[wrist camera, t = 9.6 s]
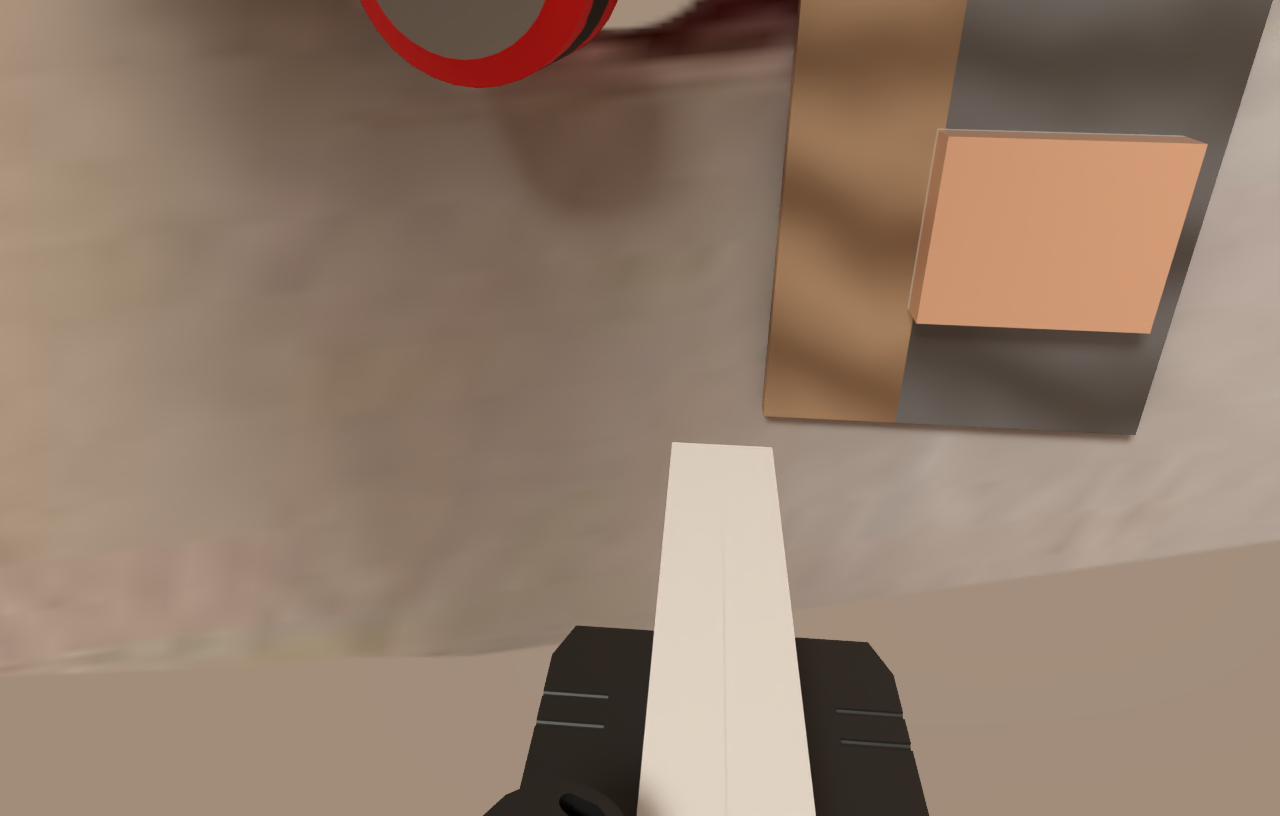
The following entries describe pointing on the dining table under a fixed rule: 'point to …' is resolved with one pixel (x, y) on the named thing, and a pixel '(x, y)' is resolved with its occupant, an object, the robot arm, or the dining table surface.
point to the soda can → (486, 35)
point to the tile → (1051, 228)
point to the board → (898, 179)
